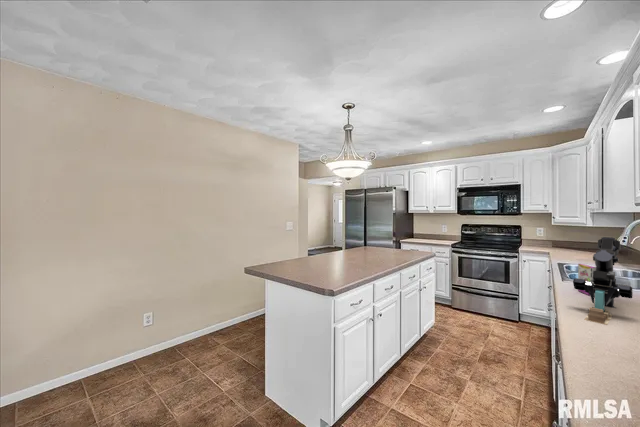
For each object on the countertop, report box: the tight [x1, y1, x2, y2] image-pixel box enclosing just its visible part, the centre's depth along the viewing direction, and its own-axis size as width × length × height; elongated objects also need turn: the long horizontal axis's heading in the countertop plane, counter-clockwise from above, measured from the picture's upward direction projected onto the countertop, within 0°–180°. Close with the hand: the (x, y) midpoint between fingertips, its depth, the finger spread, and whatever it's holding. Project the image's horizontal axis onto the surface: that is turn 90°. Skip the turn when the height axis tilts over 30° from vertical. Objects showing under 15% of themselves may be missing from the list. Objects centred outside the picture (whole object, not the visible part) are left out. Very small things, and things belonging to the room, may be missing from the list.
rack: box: [584, 306, 613, 326], centre depth 124 cm, size 18×7×4 cm, turn 129°
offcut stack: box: [587, 306, 606, 324], centre depth 121 cm, size 5×5×4 cm
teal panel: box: [594, 290, 606, 312], centre depth 126 cm, size 5×2×11 cm, turn 129°
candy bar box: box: [577, 263, 596, 298], centre depth 162 cm, size 11×5×16 cm, turn 168°
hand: (599, 303), depth 125 cm, fingers open, 4 cm apart
